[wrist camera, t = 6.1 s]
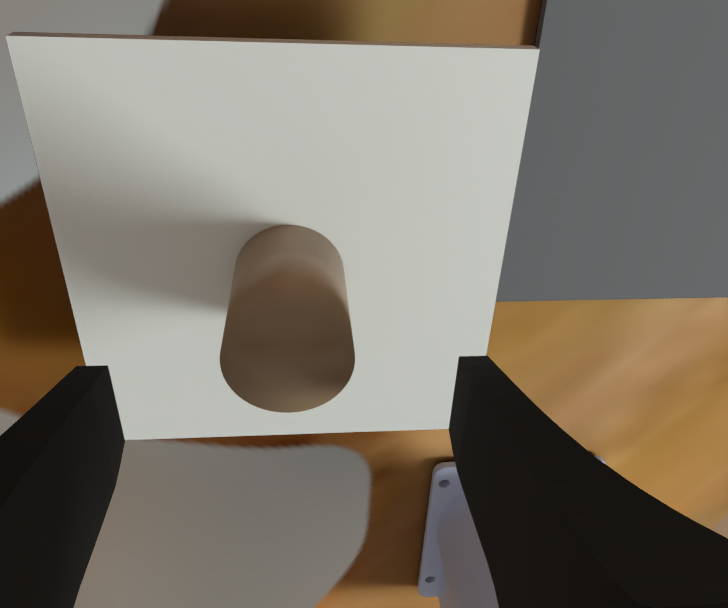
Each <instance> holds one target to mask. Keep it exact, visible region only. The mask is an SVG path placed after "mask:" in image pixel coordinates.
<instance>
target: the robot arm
mask: <svg viewBox="0 0 728 608" xmlns="http://www.w3.org/2000/svg"><path fill="white" fill-rule="evenodd" d="M449 433H450V439H451V444H452V449H453V455H454V459H455V462H443V463H440V464H437V465H436V466H435V467H434V469H433V474H432V481H431V489H430V496H429V504H428V512H427V519H426V527H425V534H424V542H423V550H422V557H421V565H420V572H419V580H418V590H419V594H420V595H421V596H424V597H433V596H438V597H439V601H440V606H441V608H728V539H727V538H725V537H724V536H722V535H720V534H718V533H716V532H714V531H712V530H710V529H708V528H706V527H704V526H703V525H701V524H699V523H697V522H695V521H693V520H691V519H690V518H688V517H686V516H684V515H683V514H681V513H679V512H677V511H676V510H674V509H672V508H670V507H669V506H667V505H666V504H664V503H662V502H661V501H659V500H658V499H656V498H654V497H653V496H651V495H649V494H648V493H646V492H645V491H643V490H641V489H640V488H638V487H637V486H635V485H634V484H632V483H631V482H629V481H628V480H626V479H625V478H624V477H622V476H621V475H619V474H618V473H617V472H615V471H614V470H613V469H611V468H610V467H608V466H607V465H606V463H605V462H604V460H603V458H602V457H600V456H594V455H592V454H591V453H590V452H589V451H587V450H586V449H585V448H584V447H582V446H581V445H580V444H579V443H578V442H576V441H575V440H574V439H573V438H572V437H571V436H569V435H568V434H567V433H566V432H565V431H563V430H562V429H561V428H560V427H559V426H558V425H557V424H556V423H554V422H553V421H552V420H551V419H550V418H549V417H548V416H547V415H546V414H545V413H544V412H543V411H542V410H540V409H539V408H538V407H537V406H536V405H535V404H534V403H533V402H532V401H531V400H530V399H529V398H528V397H527V396H526V395H525V394H524V393H523V392H522V391H521V390H520V389H519V388H518V387H517V386H516V385H515V384H514V383H513V382H512V381H511V380H510V379H509V378H508V377H507V376H506V374H505V373H504V372H503V371H502V370H501V369H500V368H499V367H498V366H497V365H496V364H495V363H494V362H493V361H492V360H491V359H490V358H489V357H488V356H459V360H458V367H457V374H456V381H455V388H454V395H453V402H452V409H451V416H450V423H449ZM124 443H125V439H124V434H123V430H122V425H121V421H120V417H119V412H118V408H117V403H116V399H115V394H114V390H113V386H112V381H111V377H110V372H109V368H108V365H104V366H76V367H75V368H74V369H73V370H72V371H71V372H70V373H68V374H67V375H66V376H65V377H64V378H63V379H62V380H61V381H60V382H59V383H58V384H57V385H56V386H54V387H53V388H52V389H51V390H50V391H49V392H48V393H47V394H46V395H45V396H44V397H43V398H42V399H41V400H40V401H38V402H37V403H36V404H35V405H34V406H33V407H32V408H31V409H30V410H29V411H28V412H26V413H25V414H24V415H23V416H22V417H21V418H20V419H19V420H18V421H17V422H15V423H14V424H13V425H12V426H11V427H10V428H9V429H8V430H7V431H5V432H4V433H3V434H2V435H1V436H0V608H73V607H74V604H75V601H76V598H77V594H78V591H79V588H80V585H81V582H82V579H83V577H84V574H85V571H86V568H87V565H88V563H89V560H90V557H91V554H92V551H93V549H94V546H95V542H96V540H97V537H98V535H99V532H100V529H101V526H102V523H103V521H104V518H105V515H106V511H107V509H108V506H109V503H110V501H111V498H112V495H113V492H114V489H115V486H116V481H117V476H118V472H119V468H120V463H121V457H122V453H123V447H124ZM442 480H445V481H442Z"/></svg>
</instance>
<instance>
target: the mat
mask: <svg viewBox="0 0 728 608" xmlns="http://www.w3.org/2000/svg"><path fill="white" fill-rule="evenodd" d="M535 47H536V48H538V49H540V52H539V58H538V63H537V69H536V75H535V80H534V86H533V92H532V97H531V103H530V109H529V114H528V120H527V126H526V131H525V137H524V143H523V148H522V154H521V160H520V165H519V171H518V177H517V182H516V188H515V194H514V199H513V205H512V211H511V216H510V222H509V228H508V233H507V239H506V245H505V250H504V256H503V262H502V267H501V273H500V279H499V284H498V290H497V296H496V302H498V301H552V300H607V299H661V298H715V297H728V0H542V6H541V11H540V17H539V23H538V29H537V35H536V41H535Z"/></svg>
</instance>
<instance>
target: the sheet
mask: <svg viewBox="0 0 728 608" xmlns="http://www.w3.org/2000/svg"><path fill="white" fill-rule="evenodd" d="M5 37H6V41H7V45H8V49H9V52H10V57H11V61H12V65H13V69H14V73H15V77H16V82H17V86H18V90H19V94H20V98H21V102H22V106H23V110H24V114H25V118H26V122H27V126H28V131H29V135H30V139H31V143H32V147H33V151H34V155H35V159H36V163H37V167H38V171H39V175H40V180H41V184H42V188H43V192H44V196H45V200H46V204H47V208H48V212H49V216H50V220H51V224H52V229H53V233H54V237H55V241H56V245H57V249H58V253H59V257H60V261H61V265H62V269H63V273H64V278H65V282H66V286H67V290H68V294H69V298H70V302H71V306H72V310H73V314H74V318H75V322H76V327H77V331H78V335H79V339H80V343H81V347H82V351H83V355H84V359H85V363H86V366H104V365H108V368H109V372H110V377H111V381H112V386H113V390H114V394H115V399H116V403H117V408H118V412H119V417H120V421H121V425H122V430H123V434H124V439H125V440H141V439H169V438H198V437H227V436H255V435H284V434H313V433H342V432H370V431H399V430H428V429H449V423H450V416H451V409H452V402H453V395H454V388H455V381H456V374H457V367H458V360H459V356H486V352H487V347H488V341H489V335H490V330H491V324H492V318H493V313H494V307H495V301H496V296H497V290H498V284H499V279H500V273H501V267H502V262H503V256H504V250H505V245H506V239H507V233H508V228H509V222H510V216H511V211H512V205H513V199H514V194H515V188H516V182H517V177H518V171H519V165H520V160H521V154H522V148H523V143H524V137H525V131H526V126H527V120H528V114H529V109H530V103H531V97H532V92H533V86H534V80H535V75H536V69H537V63H538V58H539V52H540V49H538V48H536V47H535V46H529V45H491V44H453V43H415V42H377V41H339V40H301V39H263V38H224V37H186V36H148V35H108V34H72V33H71V34H70V33H69V34H68V33H33V32H13V33H11V34H8V35H6V36H5Z"/></svg>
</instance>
